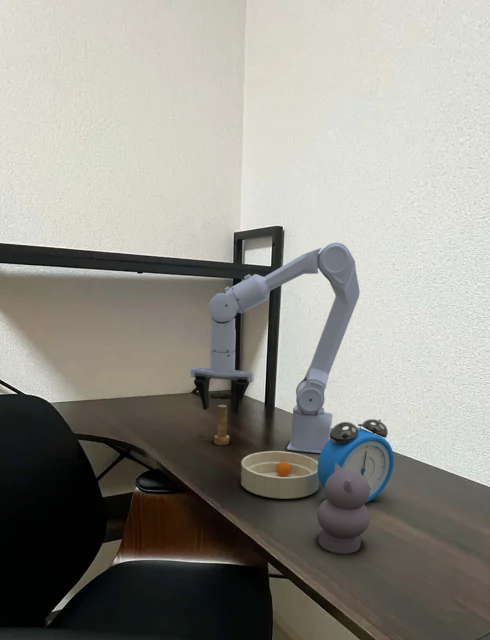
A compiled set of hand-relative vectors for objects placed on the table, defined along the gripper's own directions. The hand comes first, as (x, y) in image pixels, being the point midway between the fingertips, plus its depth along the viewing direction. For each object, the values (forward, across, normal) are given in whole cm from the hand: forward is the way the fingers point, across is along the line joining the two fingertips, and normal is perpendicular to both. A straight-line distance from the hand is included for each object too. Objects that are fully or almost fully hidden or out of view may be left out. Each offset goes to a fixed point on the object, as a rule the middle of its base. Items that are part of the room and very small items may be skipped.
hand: (221, 410), depth 122 cm
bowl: (+8, -18, +23) cm, 30 cm away
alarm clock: (+8, -32, +26) cm, 42 cm away
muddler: (+8, 0, 0) cm, 8 cm away
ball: (+6, -18, +19) cm, 27 cm away
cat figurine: (+8, -31, +44) cm, 55 cm away
